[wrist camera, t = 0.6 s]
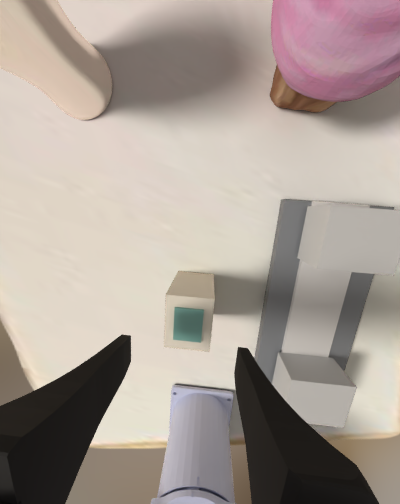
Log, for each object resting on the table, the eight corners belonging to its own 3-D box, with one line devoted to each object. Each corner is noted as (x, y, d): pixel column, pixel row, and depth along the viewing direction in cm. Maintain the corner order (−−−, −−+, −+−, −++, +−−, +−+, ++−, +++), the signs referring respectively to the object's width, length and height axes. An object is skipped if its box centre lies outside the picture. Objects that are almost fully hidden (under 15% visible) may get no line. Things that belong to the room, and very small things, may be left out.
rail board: (331, 387, 23) (362, 434, 18) (251, 378, 24) (261, 421, 19) (384, 207, 18) (446, 206, 13) (281, 199, 19) (305, 196, 14)
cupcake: (242, 132, 17) (283, 34, 8) (259, 16, 15) (340, -312, 6) (338, 141, 17) (507, 51, 7) (367, 24, 15) (648, -307, 5)
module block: (209, 314, 22) (209, 353, 16) (176, 310, 22) (163, 348, 16) (213, 274, 21) (214, 300, 15) (178, 270, 21) (165, 295, 15)
